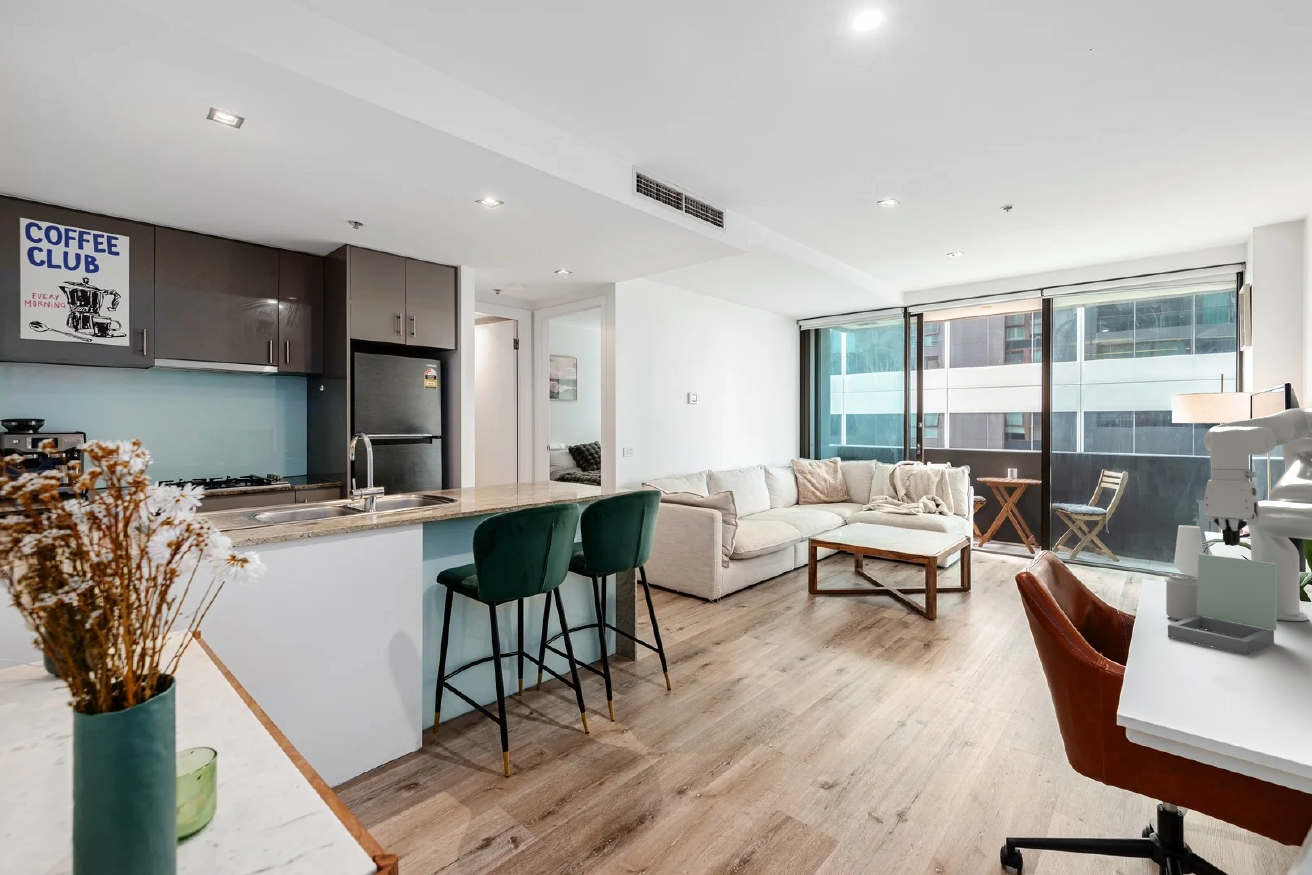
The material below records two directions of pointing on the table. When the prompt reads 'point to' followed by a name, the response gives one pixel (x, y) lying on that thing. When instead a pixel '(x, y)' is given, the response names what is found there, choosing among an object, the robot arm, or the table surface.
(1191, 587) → the can
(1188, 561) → the champagne flute
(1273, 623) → the plate
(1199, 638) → the duct box
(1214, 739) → the table surface
